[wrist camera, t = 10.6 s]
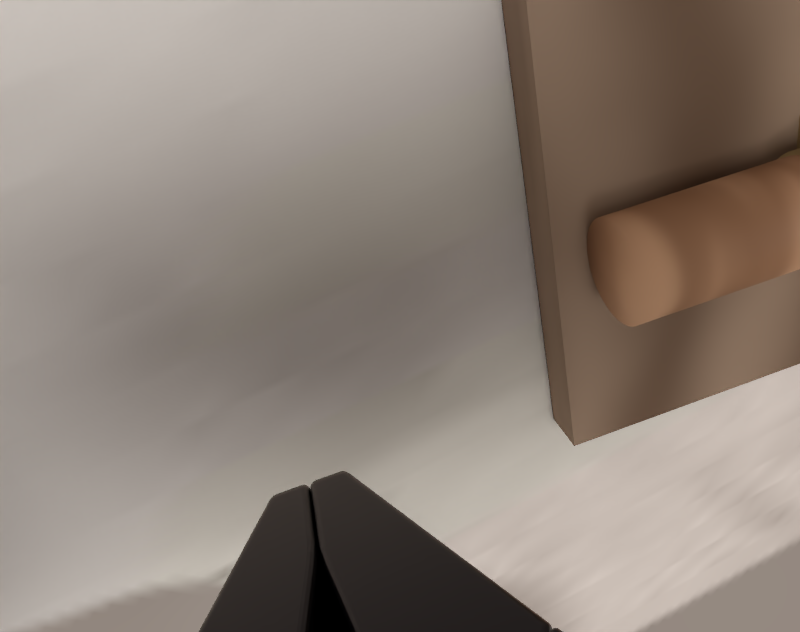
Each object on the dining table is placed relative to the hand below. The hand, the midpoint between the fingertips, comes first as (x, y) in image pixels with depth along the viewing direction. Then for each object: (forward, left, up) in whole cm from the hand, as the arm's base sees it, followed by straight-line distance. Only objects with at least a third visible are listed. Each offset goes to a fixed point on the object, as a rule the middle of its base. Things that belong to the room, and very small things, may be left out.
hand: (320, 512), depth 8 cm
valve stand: (+12, -14, -12) cm, 22 cm away
